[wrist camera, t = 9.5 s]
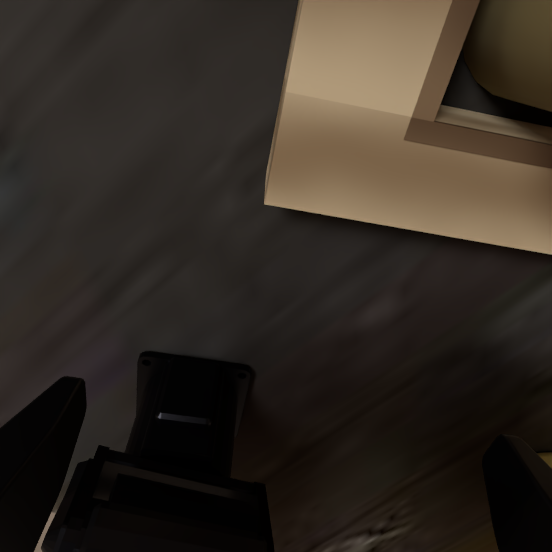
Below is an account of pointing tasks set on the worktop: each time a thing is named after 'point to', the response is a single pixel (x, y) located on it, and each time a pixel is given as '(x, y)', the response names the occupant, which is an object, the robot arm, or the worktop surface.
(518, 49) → the cork
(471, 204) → the socket board
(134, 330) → the worktop surface
